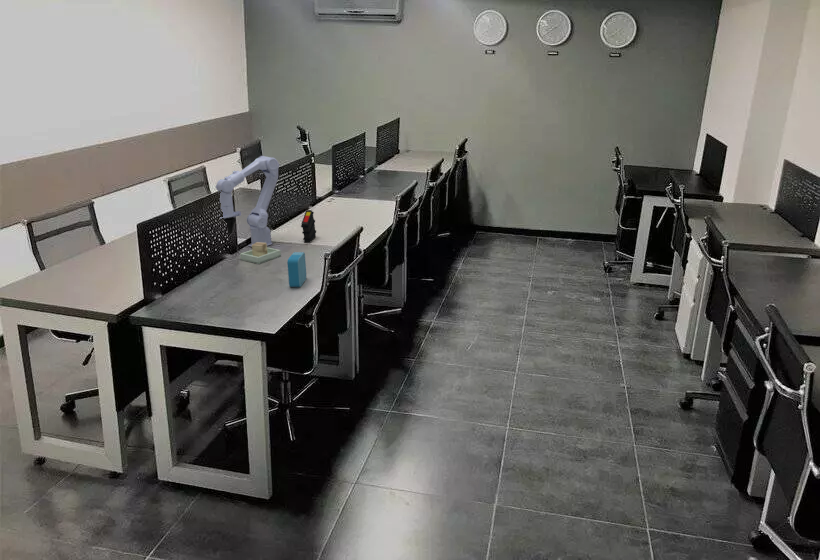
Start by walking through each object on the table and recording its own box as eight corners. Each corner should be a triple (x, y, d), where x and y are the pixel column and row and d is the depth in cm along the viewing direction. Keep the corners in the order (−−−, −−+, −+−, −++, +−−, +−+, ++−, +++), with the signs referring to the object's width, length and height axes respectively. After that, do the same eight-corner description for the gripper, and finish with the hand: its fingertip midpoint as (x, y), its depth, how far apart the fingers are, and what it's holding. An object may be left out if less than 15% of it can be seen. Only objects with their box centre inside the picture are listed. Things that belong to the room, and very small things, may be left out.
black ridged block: (318, 232, 344) (313, 209, 333) (312, 249, 335) (307, 226, 324) (311, 232, 344) (305, 209, 334) (305, 249, 335) (299, 226, 325)
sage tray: (263, 252, 318) (262, 246, 317) (281, 256, 311) (280, 250, 310) (240, 259, 307) (240, 253, 306) (258, 264, 300) (258, 257, 299)
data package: (296, 278, 281) (294, 251, 277) (306, 278, 281) (304, 251, 277) (289, 288, 270) (287, 259, 266) (300, 288, 270) (298, 260, 266)
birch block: (258, 254, 312) (256, 242, 310) (267, 255, 310) (266, 242, 308) (252, 257, 307) (251, 245, 305) (262, 258, 306) (261, 245, 304)
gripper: (232, 201, 318) (235, 228, 323) (208, 207, 307) (211, 235, 312) (242, 203, 315) (245, 230, 319) (218, 209, 303) (221, 237, 308)
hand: (229, 233), depth 315 cm, fingers closed
